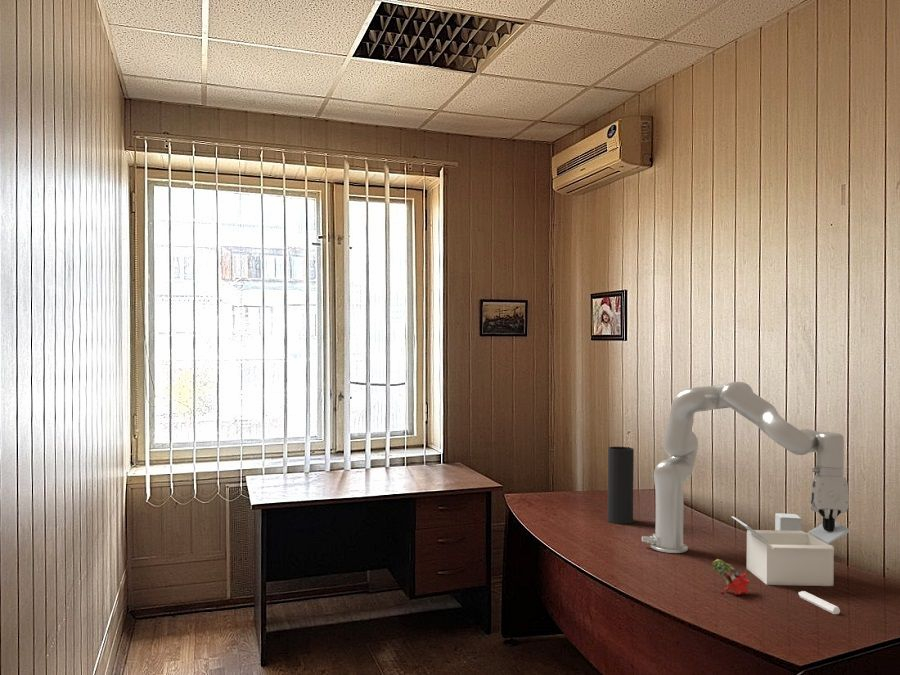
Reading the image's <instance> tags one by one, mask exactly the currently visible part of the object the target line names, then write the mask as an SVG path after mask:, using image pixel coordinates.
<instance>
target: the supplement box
mask: <svg viewBox="0 0 900 675" xmlns="http://www.w3.org/2000/svg"><path fill="white" fill-rule="evenodd" d="M774 516H775V517H774V519H775V520H774V524H775V525H774V526H775V527H774V530H785V531H803V530H802V529H803V527H802V526H803V520H802V519H803V518H802V517H800V516H799V515H798V514H797V513H781V512H780V513H779V512H778V513H777V512H775V515H774Z"/></svg>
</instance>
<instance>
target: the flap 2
mask: <svg viewBox="0 0 900 675" xmlns="http://www.w3.org/2000/svg"><path fill="white" fill-rule="evenodd" d="M851 531H852V530H851V529H850V528H849V527H846V526H844V525H841V524H840V523H838V522H836V521H835V528H834V531H832V532H831V531H830V532H828V531H826V530H824V528H823V523H821V524H820V525H819V524H818V525H817V526H816V527H813V528H812V529H810V530H808V532H807V533H809V534H811V535H813V536H815V537H817V538H819V539H820V540H822V541H824V542H826V543H828V544H831V543H833V542H835V541H837V540H838V539H839V538H841V537H843V536H845V535H846V534H848V533H850V532H851Z"/></svg>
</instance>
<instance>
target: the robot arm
mask: <svg viewBox="0 0 900 675" xmlns="http://www.w3.org/2000/svg"><path fill="white" fill-rule="evenodd" d="M729 408H730V409H732V410H733V411H735V412H736V413H738V414H739V415H740V416H742V417H744V419H746V420H748V421H750V423H752V424H754V425H755V426H756V427H758V428H759V429H760V431H761V432H763V434H765V435H766V436H767V437H768V438H770V439H771V440H772V441H773V442H775V443H777V444H778V445H779V446H781V447H782V448H784V449H785V450H787V451H788V452H789V453H792V454H794V455H796V456H805V455H807V454H809V453H816V465H815V467H812V469H811V471H812V472H813V473H815V474H814V475H813V478H812V484H811V489H810V490H811V491H810V505H811V507H810V510H811V511H813V512H815V513H818V514H819V515H820V516H821V517H822V524H823V528H824V530H826V531H828V532H830V531H831V532H832V531H834V528H835V522H836V520H837V517H838V516H839V515H840V514H843V513H844V514H845V513H847V512H848V509H849V508H850V507H849V506H850V495H849V494H850V493H849V486H848V485H849V484H848V480H847V477H845V476H844V464H845V462H844V460H845V457H844V455H845V454H844V453H845V449H844V448H845V437H844V435H843V434H842V433H839V432H834V431H832V432H831V431H818V430H814V429H809V428H807V429H806V428H804V429H803V428H802V429H799V428H797V427H796V426H794V425H793V424H791V423H790V422H788V421H787V420H785V418H783V417H782V416H781V415H780V414H779V413H778V411H777V409H776V407H775V406H774V405H773V404H772V403H770V402H769V401H767V400H765V399H764V398H762V397H761V396H760V395H758V394H756V392H754V390H753V389H752V387H751V386H750V385H749V384H748V383H747V382H744V381H732V382H728V383H724V384H718V385H710V386H709V385H708V386H697V387H691V388H688V389H685V390H682V391H680V392H679V393H677V395H675V397H674V398H673V400H672V402H671V405H670V410H669V415H668V419H667V423H666V428H665V433H664V437H663V440H662V448H663V450H664V452H665V454H666V455H668V458H667V459H664V460H661V461H660V462H659V463H657V464H656V466H655V468H654V471H653V481H654V483H653V484H654V489H655V518H654V519H655V533H652V535H650V536H647V535H646V536H645V535H644V536H643V535H642V536H641V542H643V543H646V544H650V548H651V549H652V550H655V551H658V552H662V553H668V554H669V553H670V554H680V553H685V552H687V551H688V550H689V549H688V546H687V544H684V493H683V486H682V485H683V483H686V482H687V481H689V479H691V477H692V474H693V471H694V466H695V461H696V456H697V453H698V449H699V448H698V447H699V442H698V441H699V440H698V438H697V435H696V434H695V432H693V431H692V429H693V425H694V422H695V421H694V418H695V417H694V416H695V414H696V413H699V412H707V411H713V410H721V409H729Z"/></svg>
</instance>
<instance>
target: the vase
mask: <svg viewBox="0 0 900 675" xmlns="http://www.w3.org/2000/svg"><path fill="white" fill-rule="evenodd" d="M634 456H635V455H634V448H633V447H629V446H609V447H608V448H607V516H606V517H607V520H606V521H607V522H609V523H611V524H616V525H629V524H633V523H634V471H635V470H634V458H635V457H634Z"/></svg>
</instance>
